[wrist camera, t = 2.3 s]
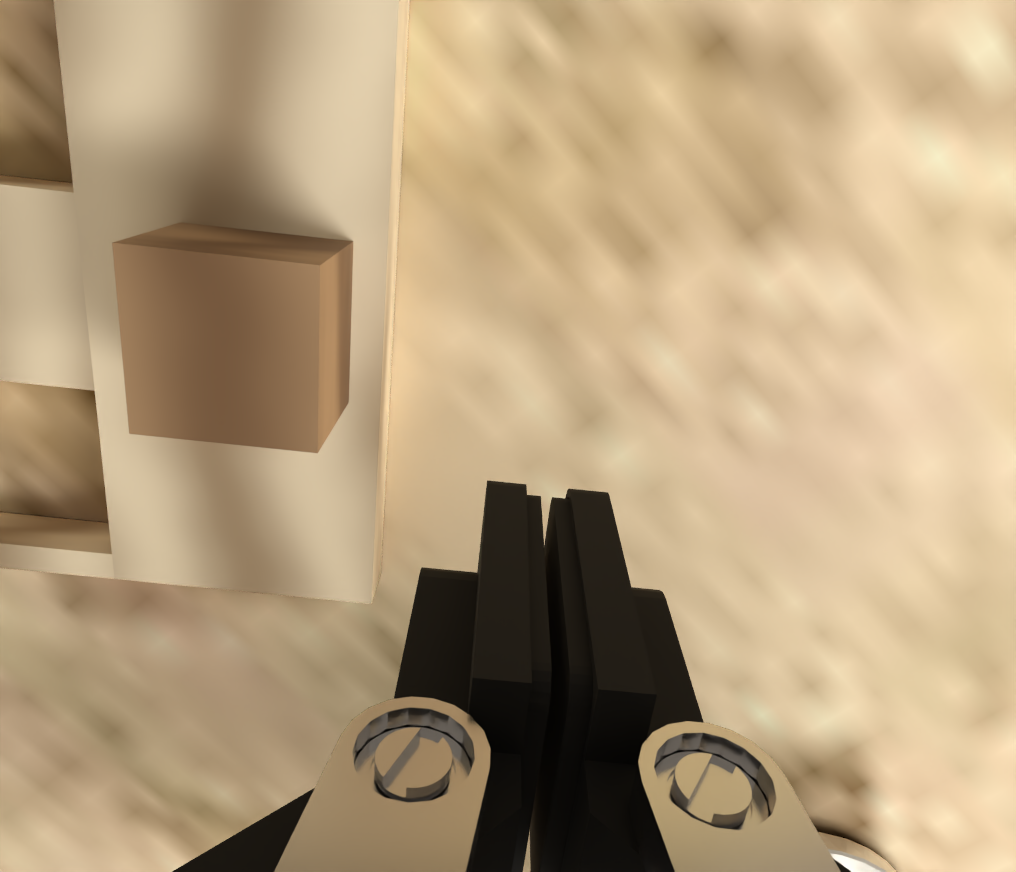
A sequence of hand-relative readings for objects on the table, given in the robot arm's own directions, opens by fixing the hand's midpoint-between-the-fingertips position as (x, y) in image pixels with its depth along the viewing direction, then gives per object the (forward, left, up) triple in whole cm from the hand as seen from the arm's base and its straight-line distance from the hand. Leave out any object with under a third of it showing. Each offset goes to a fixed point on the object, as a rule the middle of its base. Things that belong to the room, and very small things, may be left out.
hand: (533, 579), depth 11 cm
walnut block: (+8, 0, -14) cm, 16 cm away
